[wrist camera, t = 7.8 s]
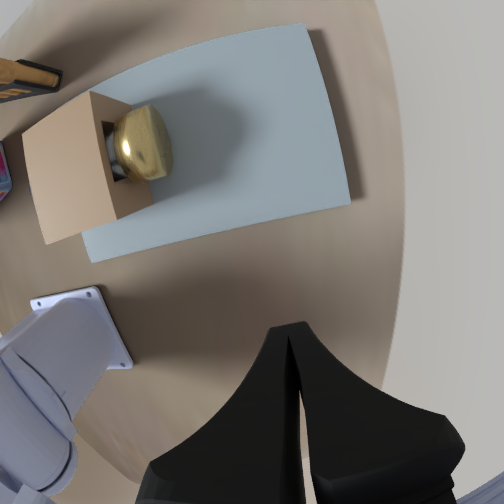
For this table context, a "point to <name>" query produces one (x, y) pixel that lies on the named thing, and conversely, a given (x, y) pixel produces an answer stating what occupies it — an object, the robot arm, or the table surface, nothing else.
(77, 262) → the table surface
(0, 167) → the ink cartridge box
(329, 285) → the table surface
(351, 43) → the table surface
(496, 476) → the robot arm
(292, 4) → the table surface
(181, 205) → the mounting board
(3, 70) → the ammunition clip
